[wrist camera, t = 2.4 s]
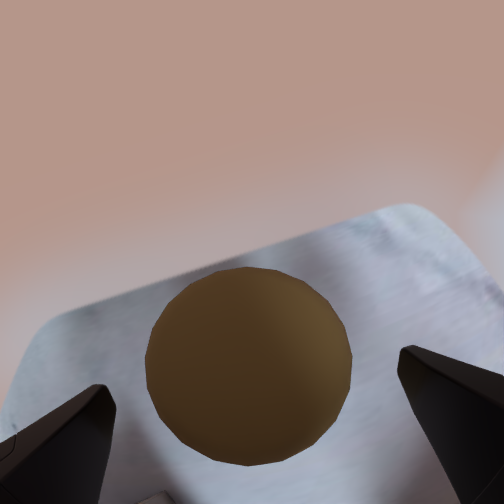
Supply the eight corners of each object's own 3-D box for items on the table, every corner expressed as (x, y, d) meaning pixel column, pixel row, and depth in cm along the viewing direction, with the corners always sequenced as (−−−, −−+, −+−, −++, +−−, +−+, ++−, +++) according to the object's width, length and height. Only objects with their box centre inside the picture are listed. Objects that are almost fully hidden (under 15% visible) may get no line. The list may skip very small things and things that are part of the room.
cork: (182, 401, 15) (63, 367, 6) (246, 321, 17) (220, 192, 8) (270, 463, 13) (278, 543, 4) (333, 376, 15) (428, 310, 6)
